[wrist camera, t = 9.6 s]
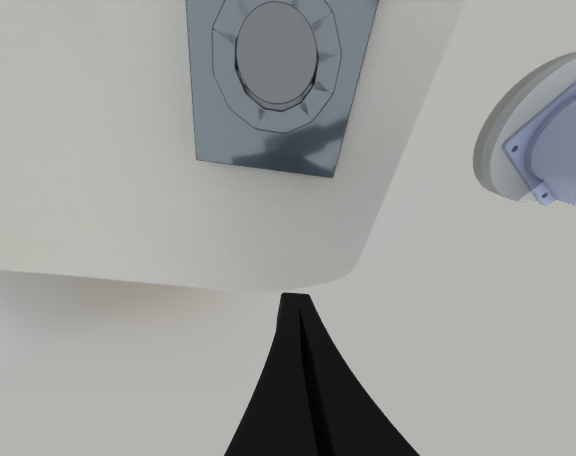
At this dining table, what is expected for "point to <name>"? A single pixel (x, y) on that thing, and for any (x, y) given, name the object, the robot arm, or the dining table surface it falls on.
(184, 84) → the dining table surface
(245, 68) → the dark grey push button
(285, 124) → the grey button housing
